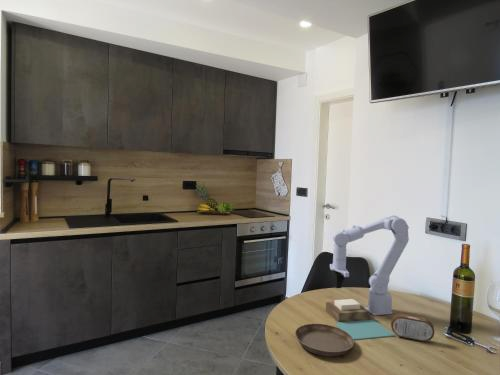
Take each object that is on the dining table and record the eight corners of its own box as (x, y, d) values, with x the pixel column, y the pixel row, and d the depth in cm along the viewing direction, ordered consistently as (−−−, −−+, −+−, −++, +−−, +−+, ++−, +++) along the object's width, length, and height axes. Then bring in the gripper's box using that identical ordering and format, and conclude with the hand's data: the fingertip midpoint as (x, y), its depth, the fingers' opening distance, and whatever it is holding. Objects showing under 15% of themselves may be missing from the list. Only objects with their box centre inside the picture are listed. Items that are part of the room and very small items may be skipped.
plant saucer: (345, 332, 131) (345, 324, 131) (361, 362, 111) (361, 352, 110) (292, 330, 132) (292, 321, 132) (298, 359, 111) (298, 349, 111)
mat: (373, 320, 142) (373, 319, 142) (394, 336, 129) (394, 335, 129) (334, 323, 138) (334, 322, 138) (352, 340, 125) (352, 339, 125)
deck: (353, 309, 154) (354, 300, 154) (368, 320, 142) (369, 311, 142) (325, 311, 151) (326, 302, 150) (338, 322, 139) (339, 313, 139)
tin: (432, 340, 126) (434, 319, 126) (434, 344, 123) (436, 322, 123) (389, 332, 131) (391, 311, 131) (390, 335, 128) (392, 314, 128)
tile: (352, 303, 150) (353, 298, 150) (360, 308, 144) (360, 304, 144) (334, 304, 148) (334, 300, 148) (341, 310, 142) (341, 305, 142)
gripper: (324, 254, 160) (323, 282, 160) (339, 263, 146) (337, 293, 146) (337, 254, 161) (336, 282, 162) (354, 262, 147) (352, 293, 148)
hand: (338, 287), depth 154 cm, fingers closed
